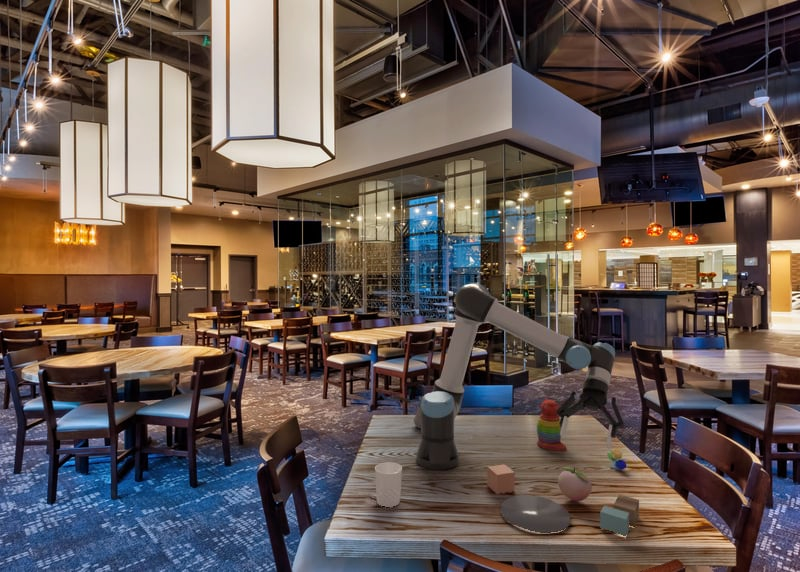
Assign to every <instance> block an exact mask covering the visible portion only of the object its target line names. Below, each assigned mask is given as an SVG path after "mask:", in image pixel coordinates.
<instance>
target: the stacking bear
mask: <svg viewBox="0 0 800 572" xmlns="http://www.w3.org/2000/svg"><path fill="white" fill-rule="evenodd" d="M559 407H560V406H559V405H558V404H557V402H556V401H555V400H552V399H548V398H545V399H544V401H543V402H542V403H541V406H540V409H541V414H540V415H539V417H538V419H537V423H536V433H537V434H536V435H537V438H538V439H537V442H536V445H537V446H538V447H539V448H541V447H542V449H544V448H545V450H549V451H556V450H557V451H558V452H559V451H563V452H564V451H566V450H567V445H565V444H564V443H563V442H562V441H561V439H562V438H561V435H560V431H561V427H560V424H559V423H560V419H561V417H559V416H558V415H557V412H556V411H557V410H558V408H559Z"/></svg>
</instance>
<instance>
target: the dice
mask: <svg viewBox="0 0 800 572" xmlns="http://www.w3.org/2000/svg"><path fill="white" fill-rule="evenodd" d="M607 458H608V460H610V467H611V468H612V469H614V470H625V469H627V462H626V461H625V460H624V459H622V458H623V453H622V450H620V449H617V448H614V449H613V450H609V451H608V452H607Z"/></svg>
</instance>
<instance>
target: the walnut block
mask: <svg viewBox="0 0 800 572" xmlns="http://www.w3.org/2000/svg"><path fill="white" fill-rule="evenodd" d="M613 508H615V509H618V510H621V511H625V512H628V513H629V525H630V526H633V527H635V525H636V526H637V524H638V521H639V519H638V518H640V499H639V498H638V499H637V498H634V497H630V496H626V495H622V494H618V496H617V498H616V499H615V501H614V503H613ZM637 520H638V521H637ZM636 523H637V524H636ZM635 528H636V527H635Z"/></svg>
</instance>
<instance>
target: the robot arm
mask: <svg viewBox="0 0 800 572" xmlns="http://www.w3.org/2000/svg"><path fill="white" fill-rule="evenodd" d="M454 296H455V297H454V298H455V299H454V302H455V309H454V314H453V315H454V317H455V320H456V321H455V324H454V328H453V331H452V334H451V339H450V341H449V345H448V349H447V353H446V355H445V360H444V364H443V367H442V371H441V374H440V377H439V378H438V379H436V380H435V381H434V385H433V389H432V391H431V392H428V393H425V394H424V395H423V396H422V397H423V398H422V403H421V402H420V404H421V429H420V431H421V433H420V434H421V437H420V442H419V445H418V447H417V451H416V456H415V457H416V459H415V461H416V463H417V465H419V466H421V467H422V468H426V469H428V470H438V471H439V470H449V469H453V468H455V467H457V466H458V465H459V464H460V456H459V452H458V449H457V445H456V442H455V419H456V417H457V415H458V413H460V411H461V408H462V402H463V398H464V393H465V389H464V387H463V382H464V379H465V374H466V372H467V367H468V364H469V360H470V359H471V358H470V356H471V353H472V350H473V347H474V343H475V339H476V336H477V333H478V329H479V326H481V325H482V324H487V323H489V324H491V325H492V326H495V327H497V328H499V329H500V330H503V331H504V332H506V333H508V334H509V335H510V334H511V335H512V336H514V337H516V338H518V339H520V340H522V341H523V342H526V343H528V344H530V345H532V346H533V347H535V348H537V349H540V350H542V352H545V353H547V354H549V355H551V356H553V357H555V358H557V359H558V360H559V361H562V362H564V363H566V364H567V365H568V366H569V367H571V368H573V369H575V370H583V369H586V368H587V370H586V375H585V377H584V379H585V380H584V384H583V388H582V390H581V393H577V392H576V391H574V390H572V391H571V394H570V395H569V397H568V398H567V399H566V400H564V401H563V403H562V404H561V405H560V406H559V408H558V410H557V411H556V412H557V415H558V416H559V418H560V423H559V424H560V427H561V431H560V435H561V439H565V436H566V432H567V427H568V425H569V418H570V417H572V416H573V415H575V414H576V413H578V412H579V411H581V410H583V409H585V408H586V409H588V410H591V409H592V410H594V411H598V410H600V411H601V413H602V414H603V415H604V416H605V418H606V420H607V421H608V423H610V424H609V425H608V432H607V436H606V441H605V445H606V448H607V449H609V450H610V449H611V445H612V440H613V439H616V438H617V433H618V429H623V430H624V429H625V428H626V427H625V424H624V420H623V418H622V416H621V413H620V411H619V408H618V402H617V398H616V397H615V396H613V397H611V398H608V394H609V393H608V392H609V389H610V387H609V386H610V383H611V377H612V372H613V367H614V363H615V358H616V357H615V356H616V350H615V348H614V346H613V345H610V344H609V343H607V342H604V343H603V342H600V341H599V342H596V343H594V344H593V345H591V344H588V343H586V342H583V341H581V340H578V339H575V338H573V337H572V336H567V335H564V334H560V333H558V332H556V331H555V330H553V329H550V328H549V327H547V326H545V325H543V324H541V323H540V322H536V321H535V320H533V319H531V318H530V317H527V316H526V315H523V314H521V313H519V312H517V311H515V310H513V309H512V308H509V307H507V306H505V305H503V304H502V303H499V301H498V298H496V297H494V296H493V295H491V293H490V291H489V290H488V288H487V287H486V286H484V285H483V284H479V283H477V282H476V283H475V282H474V283H466V284H464V285H462V286H461V287H459V289H458V290H457V291H456V294H455V295H454ZM578 399H579V400H578ZM577 400H578V401H577ZM576 401H577V402H576ZM575 402H576V403H575ZM574 403H575V404H574ZM607 404H609V406H611V407H612V410H613V413H614V416H615V417H616V419H614V417H613V416H612V414H611V413H610V412H609V410H608V409H607V408H606V407H605V405H607ZM616 420H617V421H616Z"/></svg>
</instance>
